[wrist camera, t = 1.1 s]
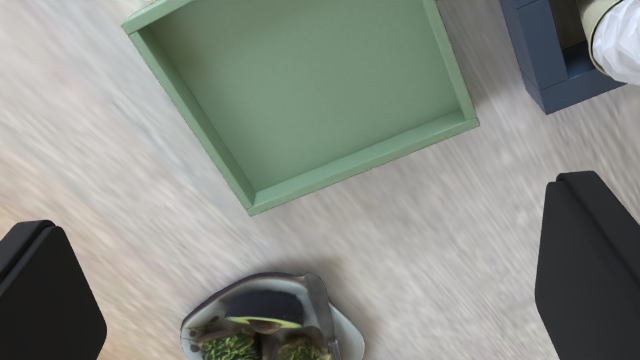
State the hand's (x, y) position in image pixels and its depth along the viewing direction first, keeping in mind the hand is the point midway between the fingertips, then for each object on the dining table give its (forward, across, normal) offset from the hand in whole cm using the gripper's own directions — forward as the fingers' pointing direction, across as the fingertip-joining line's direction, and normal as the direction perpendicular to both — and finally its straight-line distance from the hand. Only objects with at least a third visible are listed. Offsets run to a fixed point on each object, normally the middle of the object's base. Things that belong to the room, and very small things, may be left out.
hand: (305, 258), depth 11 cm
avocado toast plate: (+31, +9, +34) cm, 47 cm away
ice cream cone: (+31, -17, +4) cm, 36 cm away
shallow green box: (+31, +2, +6) cm, 31 cm away
